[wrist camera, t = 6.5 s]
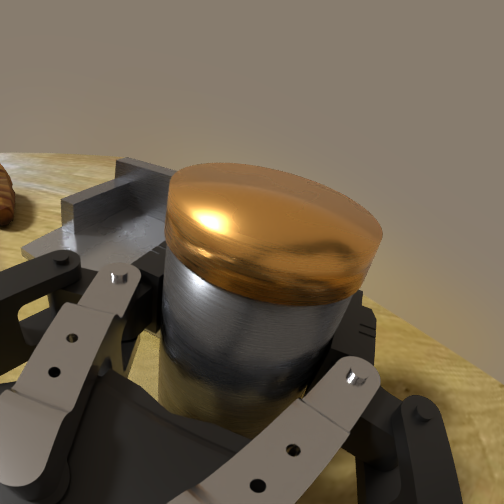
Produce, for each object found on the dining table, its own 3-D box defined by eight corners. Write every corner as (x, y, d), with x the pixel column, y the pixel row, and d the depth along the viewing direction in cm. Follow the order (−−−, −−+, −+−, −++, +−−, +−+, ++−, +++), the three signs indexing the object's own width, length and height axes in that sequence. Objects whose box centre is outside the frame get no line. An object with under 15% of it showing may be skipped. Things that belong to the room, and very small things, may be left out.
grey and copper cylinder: (278, 388, 15) (357, 191, 10) (273, 484, 10) (412, 277, 5) (172, 365, 15) (200, 152, 10) (141, 456, 10) (131, 210, 5)
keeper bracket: (123, 204, 29) (127, 157, 27) (244, 249, 26) (257, 196, 24) (21, 255, 19) (15, 193, 16) (161, 339, 16) (167, 264, 14)
